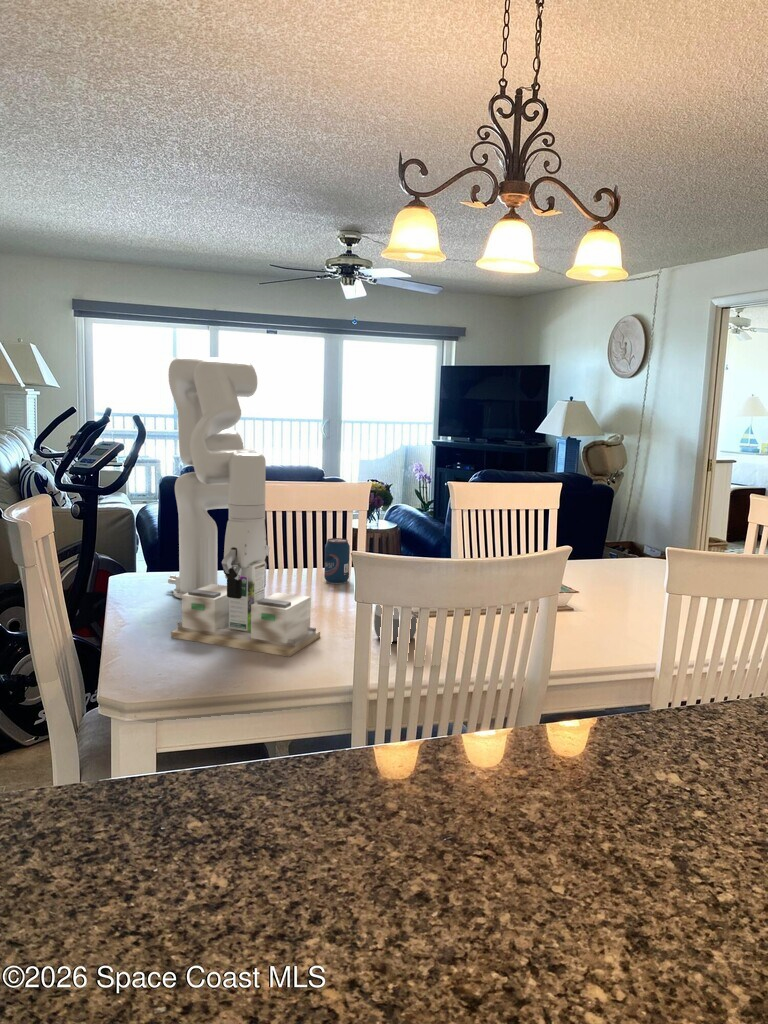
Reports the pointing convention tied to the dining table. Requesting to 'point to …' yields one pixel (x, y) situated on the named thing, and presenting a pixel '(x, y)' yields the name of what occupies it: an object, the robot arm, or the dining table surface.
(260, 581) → the syrup box
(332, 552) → the soda can
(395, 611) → the smart speaker
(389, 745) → the dining table surface
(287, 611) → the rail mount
